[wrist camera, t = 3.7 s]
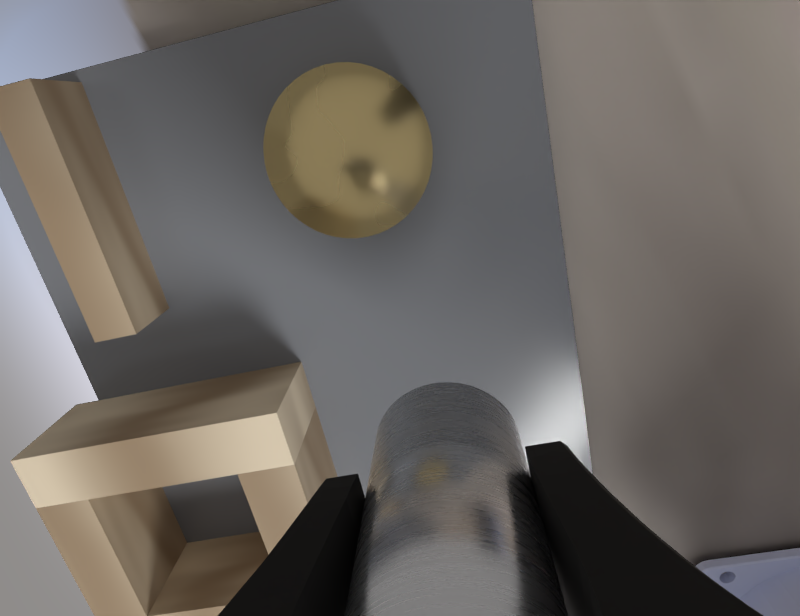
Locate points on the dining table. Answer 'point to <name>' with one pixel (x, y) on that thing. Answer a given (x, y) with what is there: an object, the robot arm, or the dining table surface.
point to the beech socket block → (170, 465)
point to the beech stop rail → (81, 205)
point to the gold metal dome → (348, 150)
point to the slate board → (327, 255)
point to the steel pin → (451, 514)
